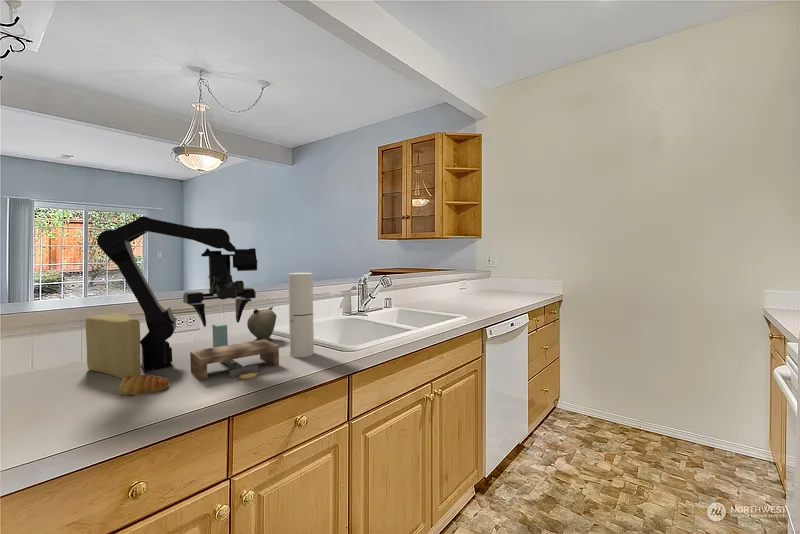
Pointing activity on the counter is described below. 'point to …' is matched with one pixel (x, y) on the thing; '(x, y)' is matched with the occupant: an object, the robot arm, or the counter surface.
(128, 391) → the pastry
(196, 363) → the walnut shelf
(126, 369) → the cheese
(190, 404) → the counter surface
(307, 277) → the cylindrical container
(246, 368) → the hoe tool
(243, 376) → the brass puck
